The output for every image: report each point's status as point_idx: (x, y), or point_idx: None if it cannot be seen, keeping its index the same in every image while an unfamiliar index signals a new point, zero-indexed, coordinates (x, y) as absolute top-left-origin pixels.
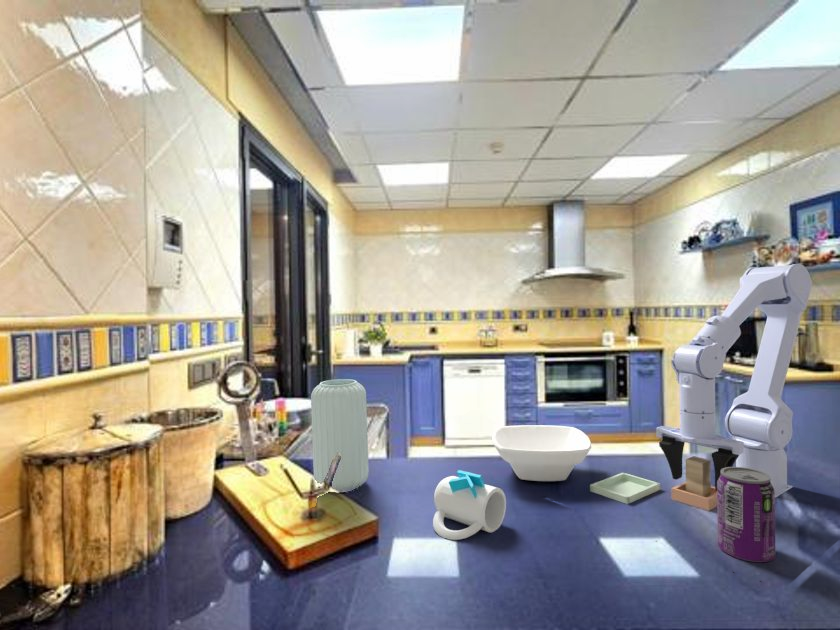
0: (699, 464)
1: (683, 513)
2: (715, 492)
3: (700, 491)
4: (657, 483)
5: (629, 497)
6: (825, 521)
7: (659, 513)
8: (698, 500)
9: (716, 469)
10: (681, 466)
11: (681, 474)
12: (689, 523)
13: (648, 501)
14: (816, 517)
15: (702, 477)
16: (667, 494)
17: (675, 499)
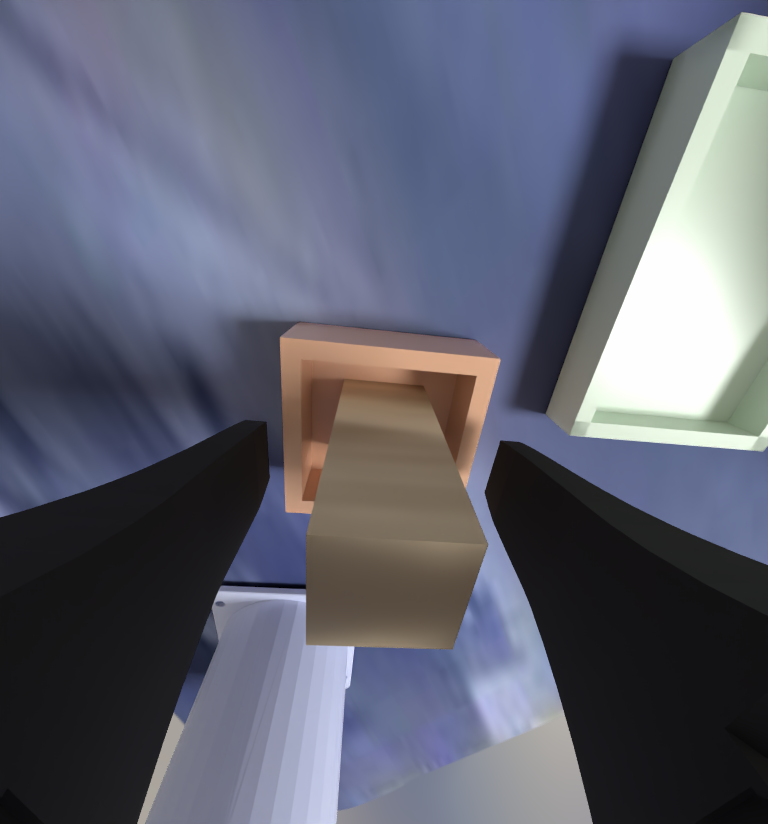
0: (339, 520)
1: (386, 239)
2: None
3: (352, 405)
4: (580, 425)
5: (719, 54)
6: None
7: (484, 127)
8: (342, 338)
9: (153, 495)
10: (510, 544)
11: (491, 502)
12: (308, 106)
13: (572, 267)
14: None
15: (328, 449)
16: (513, 416)
17: (460, 343)
